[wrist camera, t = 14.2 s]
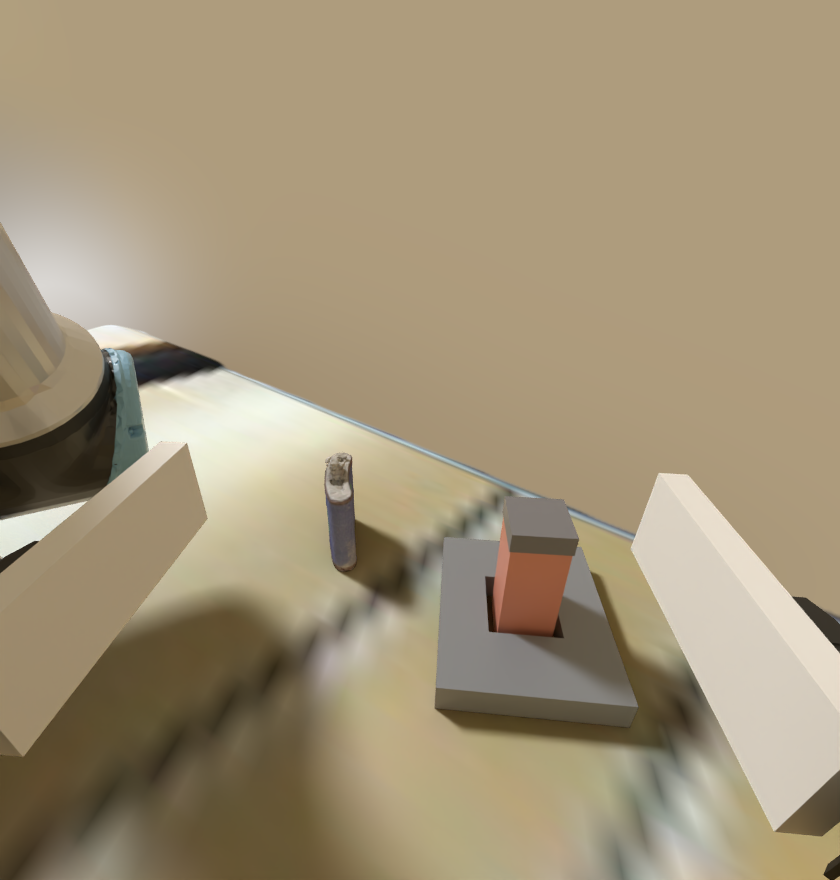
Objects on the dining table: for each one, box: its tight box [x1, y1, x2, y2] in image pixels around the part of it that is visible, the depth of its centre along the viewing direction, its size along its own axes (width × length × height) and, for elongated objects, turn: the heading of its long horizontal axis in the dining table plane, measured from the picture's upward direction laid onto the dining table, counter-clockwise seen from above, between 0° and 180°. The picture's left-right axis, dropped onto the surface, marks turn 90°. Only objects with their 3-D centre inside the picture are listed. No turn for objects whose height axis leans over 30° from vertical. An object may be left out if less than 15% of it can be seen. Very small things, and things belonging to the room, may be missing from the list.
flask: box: [324, 453, 357, 571], centre depth 45 cm, size 9×3×11 cm, turn 9°
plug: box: [491, 496, 579, 637], centre depth 35 cm, size 5×5×12 cm
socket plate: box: [435, 537, 638, 728], centre depth 38 cm, size 14×16×2 cm
